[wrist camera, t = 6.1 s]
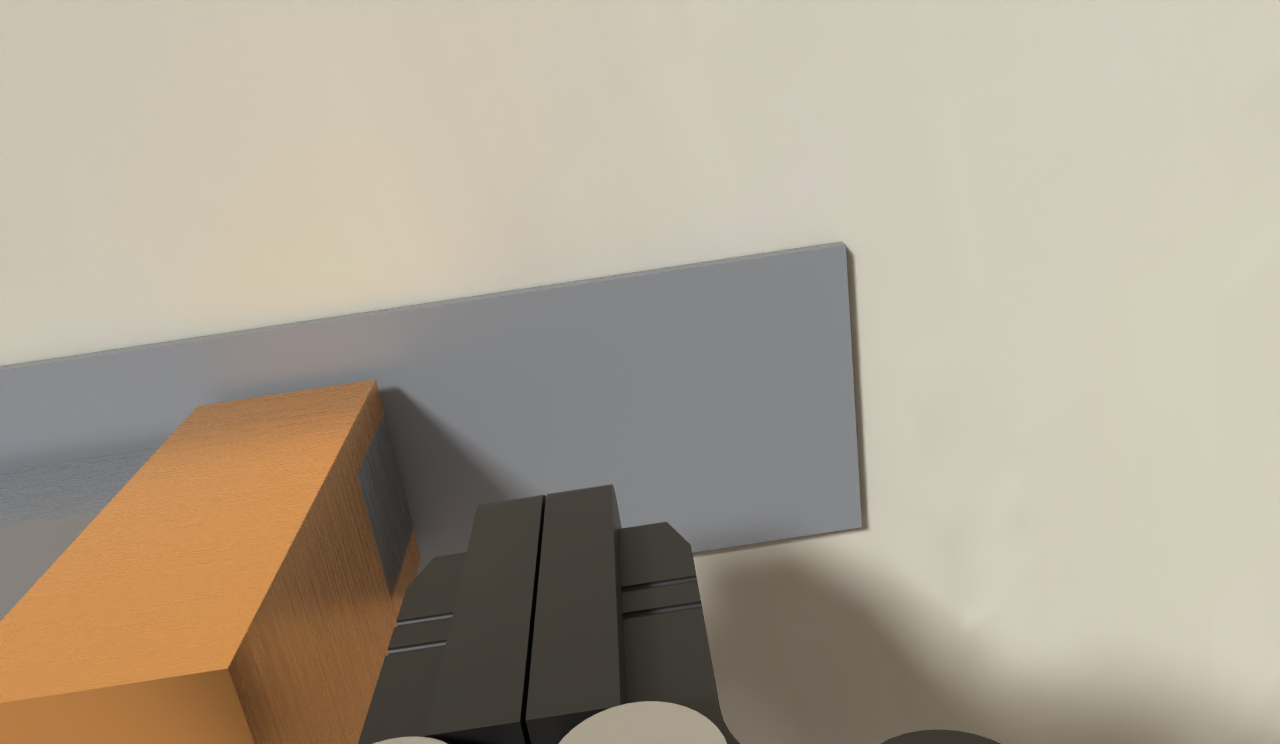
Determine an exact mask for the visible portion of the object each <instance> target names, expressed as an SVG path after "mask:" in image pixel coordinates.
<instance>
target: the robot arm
mask: <svg viewBox="0 0 1280 744" xmlns="http://www.w3.org/2000/svg"><path fill="white" fill-rule="evenodd" d="M396 621H397V627H394V630H393V633H392V636H391V639H390V643H389V646H388V655H387V656H385V659H384V662H383V665H382V668H381V671H380V674H379V678H378V681H377V684H376V687H375V690H374V694H373V697H372V700H371V703H370V706H369V710H368V713H367V716H366V719H365V722H364V726H363V729H362V732H361V735H360V738H359V741H358V744H740V743H739V742H738V741H737V740H736V739H735V738H734V737H733V735H732V734H731V733H730V732H729V730H728V728H727V726H726V724H725V723H724V721H723V718H722V714H721V711H720V706H719V701H718V695H717V690H716V684H715V678H714V673H713V667H712V662H711V656H710V650H709V645H708V639H707V633H706V628H705V622H704V617H703V611H702V606H701V600H700V594H699V589H698V583H697V578H696V572H695V566H694V560H693V555H692V549H691V545H690V544H689V543H688V542H687V541H686V540H685V539H684V538H683V537H682V536H681V535H680V534H679V533H678V532H677V531H676V530H675V529H674V528H673V527H672V526H671V525H670V524H669V523H668V522H661V523H654V524H648V525H641V526H635V527H628V528H622V527H621V521H620V515H619V510H618V504H617V499H616V494H615V490H614V486H613V484H610V485H604V486H597V487H591V488H584V489H577V490H571V491H564V492H558V493H551V494H547V496H546V495H539V496H533V497H526V498H520V499H513V500H506V501H500V502H493V503H487V504H480V505H478V507H477V509H476V513H475V518H474V522H473V526H472V531H471V535H470V540H469V544H468V549H467V552H464V553H457V554H451V555H444V556H438V557H434V558H433V559H432V560H431V562H430V563H429V564H428V565H427V566H426V567H425V568H424V569H423V570H422V571H421V573H420V574H419V575H418V576H417V577H416V578H415V579H414V580H413V581H412V582H411V584H410V585H409V586H408V587H407V588H406V592H405V595H404V598H403V601H402V604H401V608H400V611H399V614H398V617H397V620H396ZM881 744H1000V743H998V742H995V741H993V740H991V739H988V738H985V737H981V736H978V735H975V734H970V733H965V732H959V731H950V730H925V731H917V732H912V733H907V734H903V735H900V736H897V737H894V738H891V739H889V740H887V741H885V742H883V743H881Z"/></svg>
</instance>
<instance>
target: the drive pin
mask: <svg viewBox="0 0 1280 744" xmlns="http://www.w3.org/2000/svg"><path fill="white" fill-rule="evenodd" d="M420 560H421V555H420V551H419V547H418V543H417V539H416V535H415V531H414V527H413V524H412V520H411V516H410V512H409V508H408V504H407V500H406V496H405V492H404V488H403V484H402V480H401V476H400V472H399V468H398V464H397V460H396V456H395V453H394V449H393V445H392V441H391V437H390V433H389V429H388V425H387V421H386V417H385V413H384V409H383V405H382V401H381V397H380V393H379V389H378V386H377V382H376V379H375V380H369V381H362V382H355V383H348V384H342V385H335V386H328V387H322V388H315V389H308V390H301V391H295V392H288V393H281V394H275V395H268V396H261V397H254V398H248V399H241V400H234V401H228V402H221V403H214V404H207V405H201V406H197V407H196V408H195V409H194V411H193V412H192V413H191V414H190V415H189V416H188V417H187V418H186V419H185V420H184V421H183V423H182V424H181V425H180V426H179V427H178V428H177V429H176V430H175V431H174V432H173V433H172V435H171V436H170V437H169V438H168V439H167V440H166V441H165V442H164V443H163V444H162V445H161V447H155V448H148V449H142V450H135V451H128V452H122V453H115V454H108V455H102V456H95V457H88V458H82V459H75V460H68V461H61V462H55V463H48V464H41V465H35V466H28V467H21V468H15V469H8V470H1V471H0V744H358V741H359V738H360V735H361V732H362V729H363V726H364V722H365V719H366V716H367V713H368V710H369V706H370V703H371V700H372V697H373V694H374V690H375V687H376V684H377V681H378V678H379V674H380V671H381V668H382V665H383V662H384V659H385V656H387V655H388V646H389V643H390V639H391V636H392V633H393V630H394V627H397V621H396V620H397V617H398V614H399V611H400V608H401V604H402V601H403V598H404V595H405V592H406V588H407V587H408V586H409V585H410V584H411V582H412V581H413V580H414V579H415V578H416V574H417V571H418V567H419V563H420Z"/></svg>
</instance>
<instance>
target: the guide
mask: <svg viewBox="0 0 1280 744" xmlns="http://www.w3.org/2000/svg"><path fill="white" fill-rule="evenodd" d="M375 379H376V382H377V386H378V389H379V393H380V397H381V401H382V405H383V409H384V413H385V417H386V421H387V425H388V429H389V433H390V437H391V441H392V445H393V449H394V453H395V456H396V460H397V464H398V468H399V472H400V476H401V480H402V484H403V488H404V492H405V496H406V500H407V504H408V508H409V512H410V516H411V520H412V524H413V527H414V531H415V535H416V539H417V543H418V547H419V551H420V555H421V560H420V563H419V567H418V571H417V574H416V577H417V576H418V575H419V574H420V573H421V571H422V570H423V569H424V568H425V567H426V566H427V565H428V564H429V563H430V562H431V560H432V559H433V558H434V557H438V556H444V555H451V554H457V553H464V552H467V549H468V544H469V540H470V535H471V531H472V526H473V522H474V518H475V513H476V509H477V507H478V505H480V504H487V503H493V502H500V501H506V500H513V499H520V498H526V497H533V496H539V495H546V496H547V494H551V493H558V492H564V491H571V490H577V489H584V488H591V487H597V486H604V485H610V484H613V486H614V490H615V494H616V499H617V504H618V510H619V515H620V521H621V527H622V528H628V527H635V526H641V525H648V524H654V523H661V522H668V523H669V524H670V525H671V526H672V527H673V528H674V529H675V530H676V531H677V532H678V533H679V534H680V535H681V536H682V537H683V538H684V539H685V540H686V541H687V542H688V543H689V544H690V545H691V549H692V553H695V552H702V551H708V550H715V549H721V548H728V547H735V546H741V545H748V544H754V543H761V542H768V541H774V540H781V539H787V538H794V537H801V536H807V535H814V534H820V533H827V532H833V531H840V530H847V529H853V528H860V527H862V519H861V502H860V484H859V467H858V449H857V432H856V414H855V397H854V379H853V362H852V344H851V327H850V309H849V292H848V274H847V257H846V245H845V244H844V243H843V242H836V243H829V244H823V245H816V246H809V247H802V248H796V249H789V250H782V251H775V252H769V253H762V254H755V255H748V256H742V257H735V258H728V259H721V260H715V261H708V262H701V263H694V264H688V265H681V266H674V267H667V268H661V269H654V270H647V271H640V272H634V273H627V274H620V275H613V276H607V277H600V278H593V279H586V280H580V281H573V282H566V283H559V284H553V285H546V286H539V287H532V288H526V289H519V290H512V291H505V292H499V293H492V294H485V295H478V296H472V297H465V298H458V299H451V300H445V301H438V302H431V303H424V304H418V305H411V306H404V307H397V308H391V309H384V310H377V311H371V312H364V313H357V314H350V315H344V316H337V317H330V318H323V319H317V320H310V321H303V322H296V323H290V324H283V325H276V326H269V327H263V328H256V329H249V330H242V331H236V332H229V333H222V334H215V335H209V336H202V337H195V338H188V339H182V340H175V341H168V342H161V343H155V344H148V345H141V346H134V347H128V348H121V349H114V350H107V351H101V352H94V353H87V354H80V355H74V356H67V357H60V358H53V359H47V360H40V361H33V362H26V363H20V364H13V365H6V366H0V471H1V470H8V469H15V468H21V467H28V466H35V465H41V464H48V463H55V462H61V461H68V460H75V459H82V458H88V457H95V456H102V455H108V454H115V453H122V452H128V451H135V450H142V449H148V448H155V447H161V445H162V444H163V443H164V442H165V441H166V440H167V439H168V438H169V437H170V436H171V435H172V433H173V432H174V431H175V430H176V429H177V428H178V427H179V426H180V425H181V424H182V423H183V421H184V420H185V419H186V418H187V417H188V416H189V415H190V414H191V413H192V412H193V411H194V409H195V408H196V407H197V406H201V405H207V404H214V403H221V402H228V401H234V400H241V399H248V398H254V397H261V396H268V395H275V394H281V393H288V392H295V391H301V390H308V389H315V388H322V387H328V386H335V385H342V384H348V383H355V382H362V381H369V380H375Z"/></svg>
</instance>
